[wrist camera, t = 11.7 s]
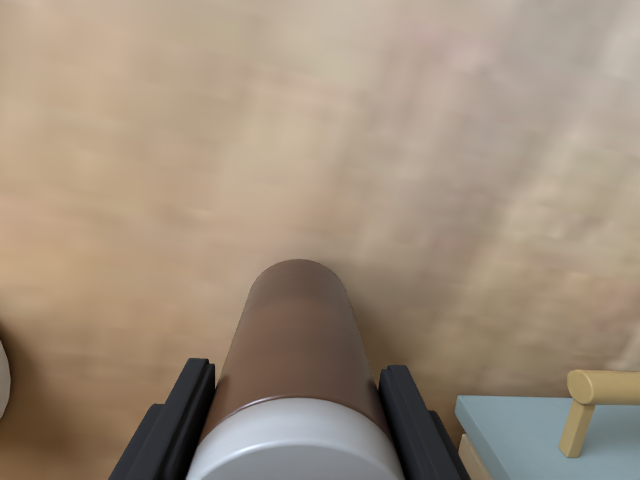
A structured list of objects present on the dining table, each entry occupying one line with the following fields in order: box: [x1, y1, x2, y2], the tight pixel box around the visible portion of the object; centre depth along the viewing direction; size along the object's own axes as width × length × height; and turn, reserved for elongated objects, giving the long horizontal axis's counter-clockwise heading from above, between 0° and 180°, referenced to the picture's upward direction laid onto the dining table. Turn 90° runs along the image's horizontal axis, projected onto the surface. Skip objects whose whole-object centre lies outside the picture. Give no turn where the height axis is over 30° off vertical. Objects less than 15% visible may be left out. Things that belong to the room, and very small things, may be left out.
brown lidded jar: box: [184, 259, 406, 480], centre depth 12 cm, size 5×5×10 cm
